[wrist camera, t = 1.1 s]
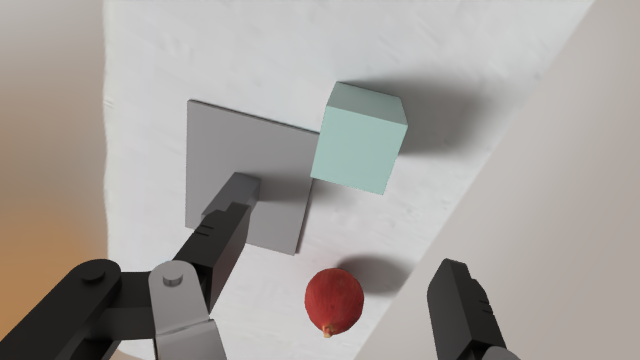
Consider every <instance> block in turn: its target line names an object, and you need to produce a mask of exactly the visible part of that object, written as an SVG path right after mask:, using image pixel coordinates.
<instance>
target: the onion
mask: <svg viewBox="0 0 640 360" xmlns="http://www.w3.org/2000/svg"><path fill="white" fill-rule="evenodd" d="M363 304H364V294H363V290H362V288H361V286H360V284H359V282H358V281H357V280H356V279H355V278H354V277H353V276H352V275H351V274H350V273H349V272H347V271H345V270H343V269H337V268H330V269H325V270H322V271H320V272H318V273H317V274H316V275H315V276H314V277H313V278H312V279H311V281H310V282H309V283H308V286H307V288H306V293H305V308H306V310H307V313H308V315H309V318H310V320H311V321H312V322H313V323H314V324H315V326H316V327H317V328H318V329H320V330H322V331H323V333H324V337H326V338H329V337H331V336H332V335H337V334H340V333H342V332H345V331H347V330H349V329H350V328H351V327H352V326H353V325H354V324H355V323H356V322H357V321H358V319H359V318H360V316H361V314H362V309H363Z"/></svg>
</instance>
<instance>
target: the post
mask: <svg viewBox="0 0 640 360" xmlns="http://www.w3.org/2000/svg"><path fill="white" fill-rule="evenodd" d="M260 184H261V179H259V178H256V177H252V176H248V175H244V174H241V173H237V172H234V173H233V175H232V176H231V177H230V178H229V180H228V181H227V182H226V183H225V185H224V186H223V187H222V188H221V190H220V191H219V192H218V194H217V195H216V196H215V197H214V199H213V200H212V201H211V202H210V204H209V205H208V206H207V207H206V209H205V210H204V211H203V213H202V214H201V221H202V220H203V219H204V217H205V216H206V215H208V214H209V213H211V212H213V211H215V210H216V209H218V210H221V211H226V210H227V208H228V207H229V205H230V204H231V202H232V201H237V202H240V203H244V204H248V205H251V213H252V211H253V209H254V207H255V206H256V204H257V202H258V197H259V191H260Z"/></svg>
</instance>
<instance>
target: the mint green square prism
mask: <svg viewBox="0 0 640 360" xmlns="http://www.w3.org/2000/svg"><path fill="white" fill-rule="evenodd" d="M407 128H408V124H407V120H406V117H405V113H404V109H403V106H402V102H401V99H400V98H399V97H395V96H391V95H387V94H383V93H379V92H375V91H371V90H367V89H363V88H359V87H355V86H351V85H347V84H343V83H339V82H336V84H335V86H334V88H333V91H332V93H331V95H330V98H329V100H328V102H327V105H326V108H325V113H324V117H323V122H322V126H321V131H320V135H319V140H318V144H317V149H316V153H315V157H314V162H313V166H312V171H311V175H310V177H313V178H317V179H321V180H325V181H329V182H333V183H337V184H341V185H344V186H348V187H352V188H356V189H360V190H364V191H368V192H372V193H376V194H380V195H383V193H384V191H385V188H386V185H387V182H388V180H389V177H390V174H391V171H392V169H393V166H394V163H395V160H396V158H397V155H398V152H399V150H400V147H401V144H402V141H403V139H404V136H405V133H406V130H407Z"/></svg>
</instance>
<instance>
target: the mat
mask: <svg viewBox="0 0 640 360" xmlns="http://www.w3.org/2000/svg"><path fill="white" fill-rule="evenodd" d="M319 135H320V134H318V133H314V132H310V131H307V130H303V129H299V128H295V127H291V126H288V125H284V124H280V123H276V122H272V121H269V120H265V119H261V118H257V117H253V116H249V115H246V114H242V113H238V112H234V111H230V110H227V109H223V108H219V107H215V106H211V105H208V104H204V103H200V102H196V101H192V100H188V101H187V155H186V215H185V227H187V228H191V229H196V228H197V227H198V226H199V224H200V223H201V214H202V213H203V211H204V210H205V209H206V207H207V206H208V205H209V204H210V202H211V201H212V200H213V199H214V197H215V196H216V195H217V194H218V192H219V191H220V190H221V188H222V187H223V186H224V185H225V183H226V182H227V181H228V180H229V178H230V177H231V176H232V175H233V173H234V172H237V173H241V174H244V175H248V176H252V177H256V178H259V179H261V184H260V191H259V197H258V202H257V204H256V206H255V207H254V209H253V211H252V213H251V215H250V222H249V229H248V235H247V240H246V243H247V244H251V245H255V246H258V247H262V248H266V249H270V250H273V251H277V252H281V253H285V254H288V255H292V256H294V254H295V251H296V246H297V242H298V238H299V234H300V230H301V226H302V222H303V218H304V214H305V210H306V206H307V202H308V197H309V193H310V189H311V185H312V181H313V177H310V175H311V171H312V166H313V162H314V157H315V153H316V149H317V144H318V140H319Z"/></svg>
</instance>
